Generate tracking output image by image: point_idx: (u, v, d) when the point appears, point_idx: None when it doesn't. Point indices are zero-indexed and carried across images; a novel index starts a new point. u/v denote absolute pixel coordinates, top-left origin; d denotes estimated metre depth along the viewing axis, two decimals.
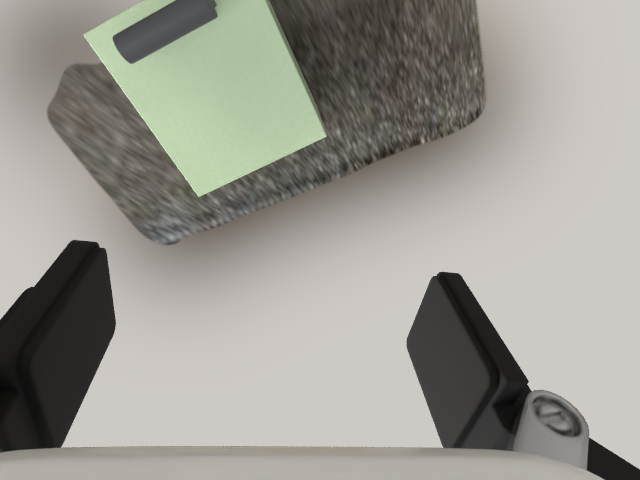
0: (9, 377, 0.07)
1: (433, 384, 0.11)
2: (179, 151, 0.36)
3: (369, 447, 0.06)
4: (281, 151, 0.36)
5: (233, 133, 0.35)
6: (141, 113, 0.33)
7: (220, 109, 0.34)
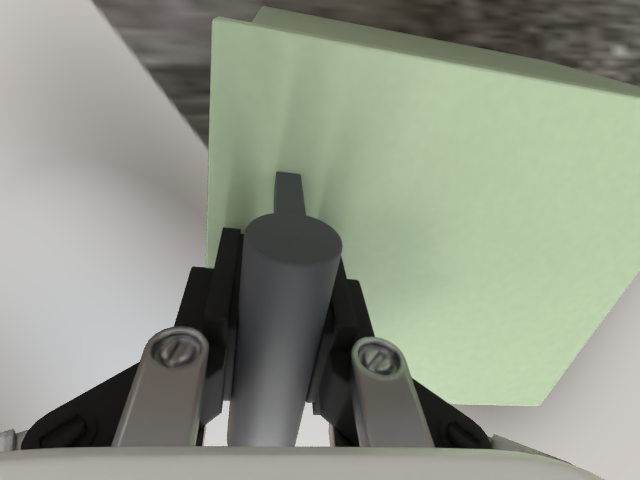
0: (222, 333, 0.09)
1: None
2: (458, 389, 0.17)
3: (369, 447, 0.06)
4: None
5: (522, 300, 0.15)
6: None
7: (467, 295, 0.14)
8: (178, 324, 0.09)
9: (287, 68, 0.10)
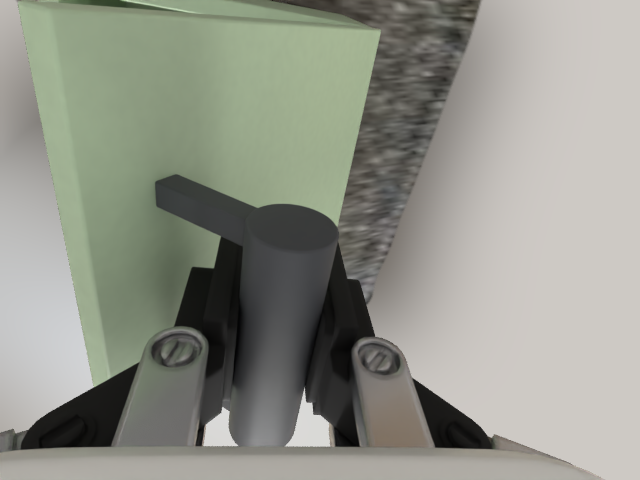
0: (222, 333, 0.09)
1: None
2: None
3: (369, 447, 0.06)
4: (356, 125, 0.20)
5: (316, 199, 0.19)
6: None
7: None
8: (178, 324, 0.09)
9: (146, 58, 0.08)
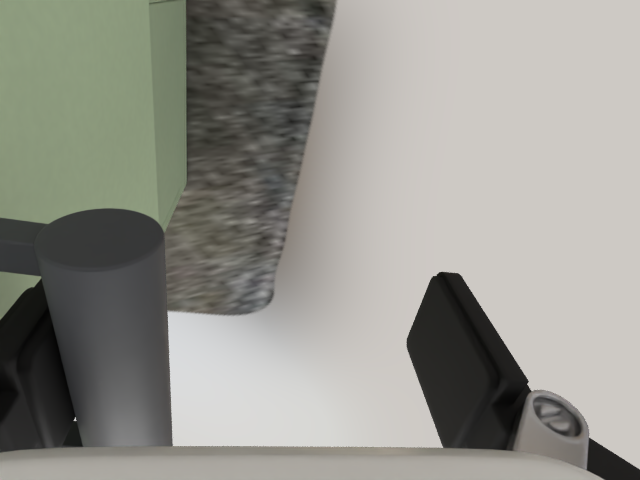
0: (9, 377, 0.07)
1: (433, 384, 0.11)
2: None
3: (369, 447, 0.06)
4: (149, 98, 0.18)
5: (124, 190, 0.17)
6: None
7: None
8: None
9: None
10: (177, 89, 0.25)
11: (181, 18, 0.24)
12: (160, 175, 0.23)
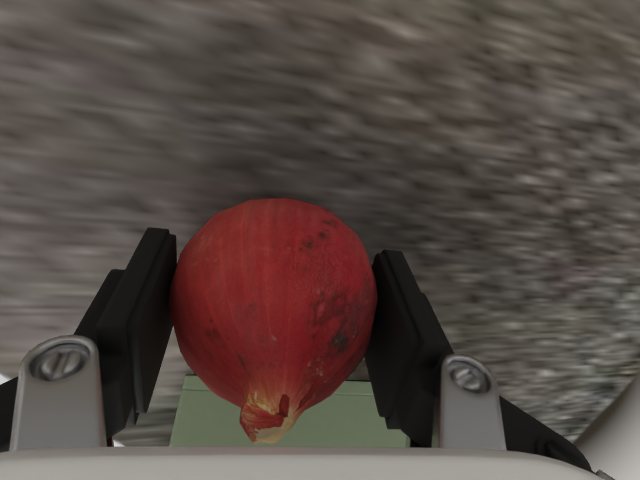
0: (120, 342, 0.08)
1: (373, 355, 0.11)
2: None
3: (369, 447, 0.06)
4: None
5: None
6: None
7: None
8: (79, 332, 0.08)
9: None
10: None
11: None
12: None
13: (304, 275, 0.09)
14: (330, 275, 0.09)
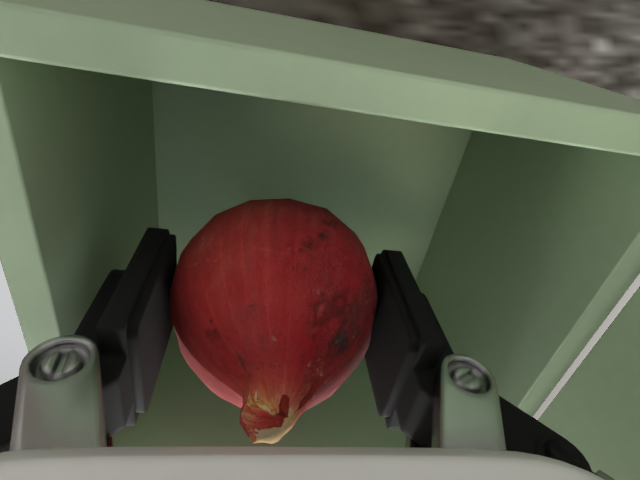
0: (121, 342, 0.08)
1: (373, 355, 0.11)
2: None
3: (369, 447, 0.06)
4: None
5: None
6: None
7: None
8: (79, 332, 0.08)
9: None
10: None
11: None
12: None
13: (304, 276, 0.09)
14: (331, 275, 0.09)
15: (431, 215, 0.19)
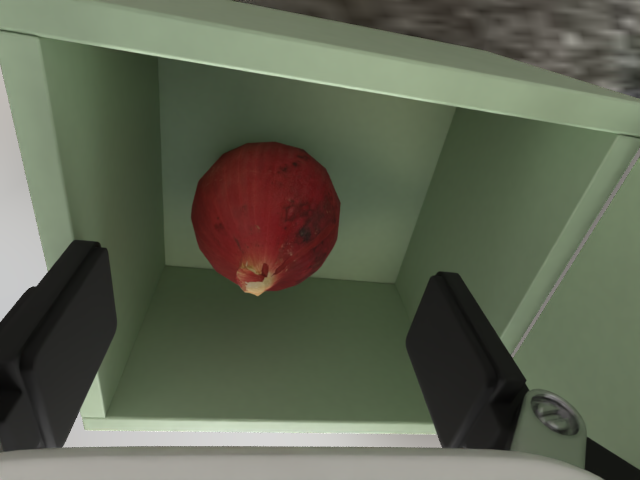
0: (12, 376, 0.07)
1: (432, 383, 0.11)
2: None
3: (369, 447, 0.06)
4: None
5: None
6: None
7: None
8: None
9: None
10: None
11: None
12: None
13: (279, 188, 0.13)
14: (299, 190, 0.14)
15: (417, 197, 0.21)
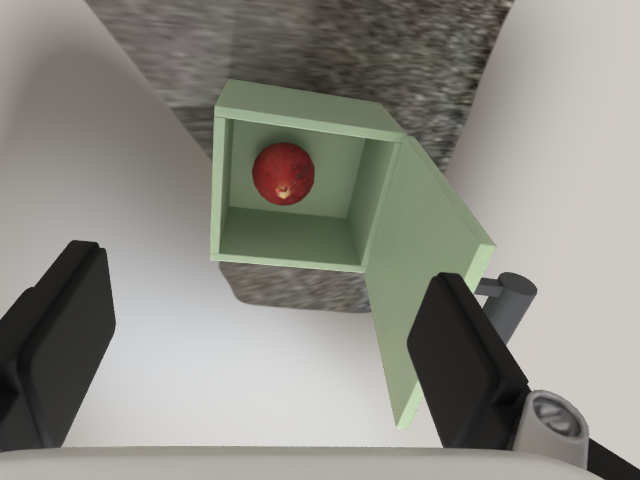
0: (9, 377, 0.07)
1: (433, 384, 0.11)
2: None
3: (369, 447, 0.06)
4: None
5: None
6: None
7: None
8: None
9: None
10: None
11: None
12: None
13: (290, 158, 0.34)
14: (297, 159, 0.35)
15: (353, 171, 0.42)
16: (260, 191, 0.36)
